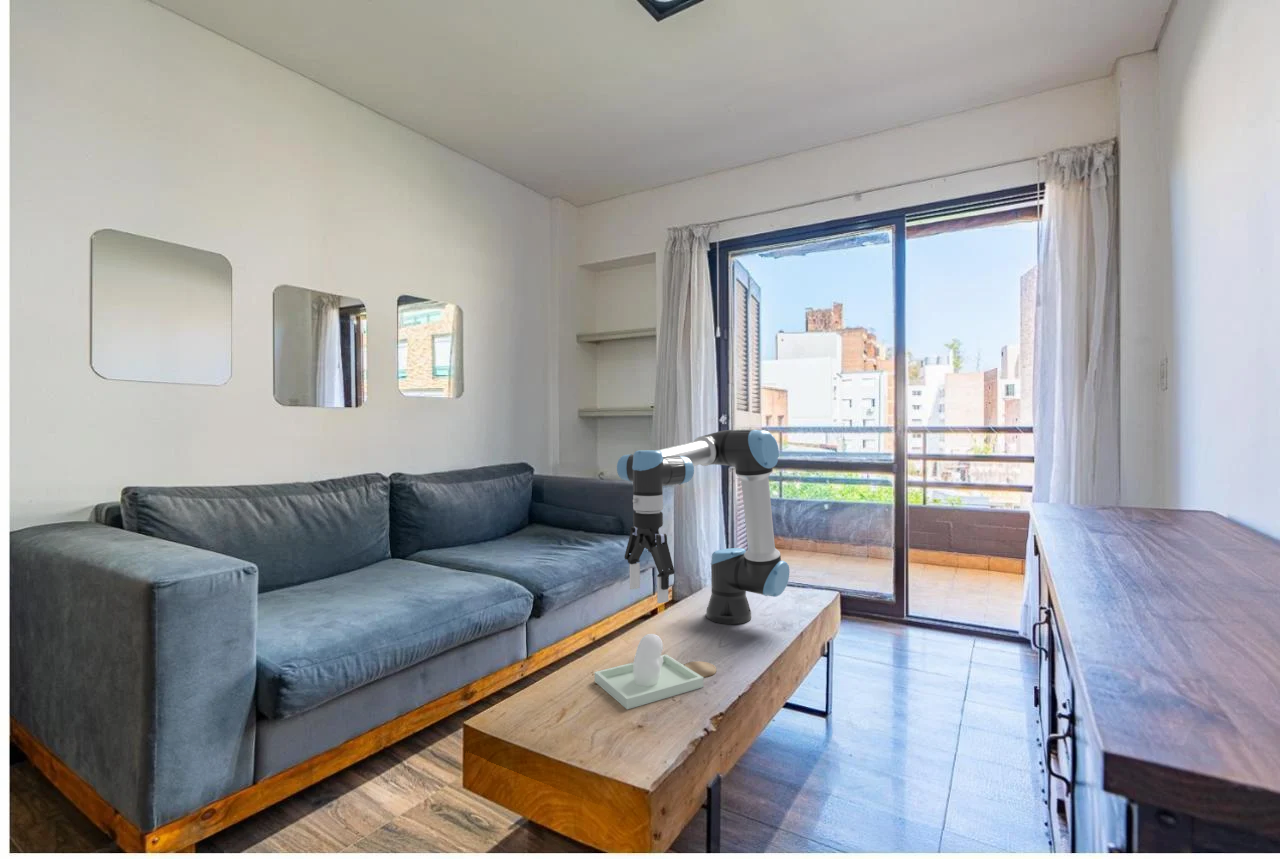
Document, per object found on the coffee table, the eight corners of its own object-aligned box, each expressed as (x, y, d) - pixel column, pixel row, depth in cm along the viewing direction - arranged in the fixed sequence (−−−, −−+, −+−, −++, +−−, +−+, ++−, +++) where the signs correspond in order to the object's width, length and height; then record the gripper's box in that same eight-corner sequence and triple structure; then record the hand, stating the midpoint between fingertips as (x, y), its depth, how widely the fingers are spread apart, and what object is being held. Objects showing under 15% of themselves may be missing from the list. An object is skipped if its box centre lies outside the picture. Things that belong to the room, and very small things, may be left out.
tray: (666, 662, 157) (666, 654, 157) (703, 686, 142) (703, 677, 142) (594, 681, 146) (594, 671, 146) (627, 709, 131) (627, 699, 131)
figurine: (660, 689, 140) (660, 640, 140) (630, 686, 142) (630, 638, 142) (665, 676, 147) (665, 630, 147) (636, 674, 149) (636, 628, 149)
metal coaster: (696, 660, 159) (696, 658, 159) (723, 669, 152) (723, 668, 152) (675, 670, 152) (675, 668, 152) (702, 680, 146) (702, 678, 146)
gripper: (611, 506, 153) (612, 585, 153) (662, 519, 131) (662, 611, 131) (635, 504, 157) (636, 581, 157) (688, 516, 135) (689, 605, 135)
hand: (648, 595), depth 144 cm, fingers open, 13 cm apart
